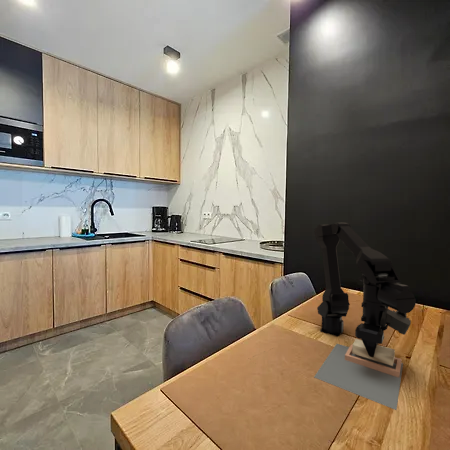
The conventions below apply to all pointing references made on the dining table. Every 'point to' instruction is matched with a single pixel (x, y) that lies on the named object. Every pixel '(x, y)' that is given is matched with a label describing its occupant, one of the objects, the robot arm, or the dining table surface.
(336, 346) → the mat
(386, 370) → the frame
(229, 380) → the dining table surface
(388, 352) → the tan oblong block
